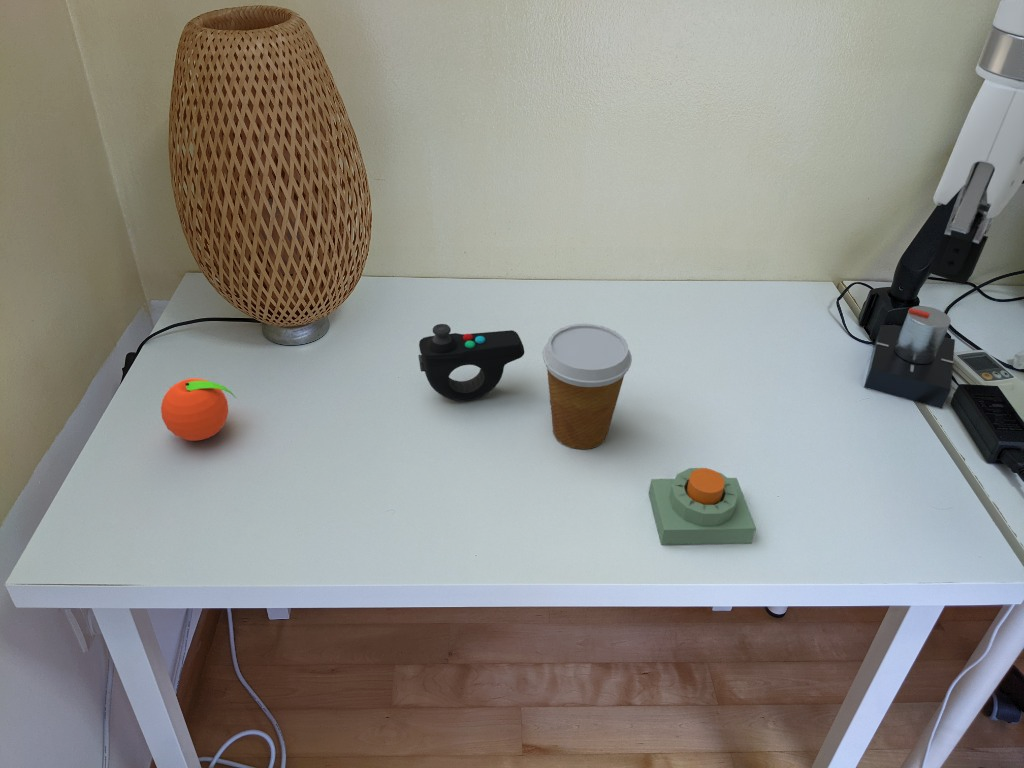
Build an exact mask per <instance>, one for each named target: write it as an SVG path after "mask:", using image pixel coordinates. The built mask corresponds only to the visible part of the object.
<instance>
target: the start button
mask: <svg viewBox="0 0 1024 768" xmlns="http://www.w3.org/2000/svg"><path fill="white" fill-rule="evenodd" d="M700 468H701V469H697V470H695V471H693V472H692V473H691V474H690V477H689V482H688V487H687V493H688V495H689V497H690V498H691V499H692V500H693V501H695V502H698V503H701V504H703V505H713V504H716V503H717V502H719V501H720V500H721V497H722V494H723V490H724V486H725V481H724V479H723V477H722V476H721V475H720V474H719V473H720V472H719V471H716V470H713V469H711V468H707V467H700ZM706 468H707V469H706ZM718 472H719V473H718Z"/></svg>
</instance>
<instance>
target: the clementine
mask: <svg viewBox="0 0 1024 768" xmlns="http://www.w3.org/2000/svg"><path fill="white" fill-rule="evenodd" d="M224 391H225V392H227V393H229V394H231V396H233V397H234V398H236V399H237V397H236V396H235V394H234V393H233V392H232V391H231V390H230V389H228V388H227V387H226V386H224V385H222V384H220V383H217V382H213V381H210V380H207V379H205V378H195V377H193V378H186V379H183V380H180V381H179V382H177V383H174V384H173V385H172V386H171V387H169V389H168V390H167V391H166V393H165V394H164V395H163V399H162V402H161V407H160V414H161V419H162V421H163V423H164V425H165V426H166V428H167V430H168V431H169V432H171V434H173V435H174V436H176V437H178V438H180V439H183V440H186V441H190V442H194V441H195V442H196V441H197V442H198V441H202V440H206V439H209V438H211V437H213V436H215V435H217V433H218V432H220V431H221V429H222V428H223V426H224V425H225V424H226V422H227V419H228V415H229V404H228V403H229V402H228V399H227V396H226V395H225V393H224Z"/></svg>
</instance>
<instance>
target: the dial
mask: <svg viewBox="0 0 1024 768" xmlns="http://www.w3.org/2000/svg"><path fill="white" fill-rule="evenodd" d="M951 323H952V322H951V318H950V316H949V315H948V314H946V313H945V312H944V311H942V310H940V309H938V308H934V307H931V306H926V305H916V306H912V307H909V309H908V311H907V313H906V316H905V318H904V322H903V324H902V325H901V326H902V329H901V331H900V334H899V336H898V339H897V342H896V344H895V347H894V350H895V352H896V354H897V355H898V356H900V357H901V358H903V359H904V360H907V361H909V362H912V363H917V364H928V363H931V362H933V361H934V360H935V358H936V355H937V353H938V351H939V348H940V346H941V344H942V341H943V339H944V337H946V334H947V333H948V330H949V327H950V325H951Z"/></svg>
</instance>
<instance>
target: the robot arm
mask: <svg viewBox="0 0 1024 768" xmlns="http://www.w3.org/2000/svg"><path fill="white" fill-rule="evenodd" d="M974 72H975V74H976V75H977V76H979V77H980V78H983V79H984V81H983V83H982V85H981V86H980V88H979V90H978V92H977V95H976V96H975V98H974V100H973V102H972V105H971V107H970V109H969V112H968V113H967V117H965V121H964V123H963V125H962V127H961V129H960V132H959V135H958V137H957V139H956V142H955V144H954V147H953V149H952V152H951V153H950V156H949V159H948V161H947V163H946V166H945V168H944V170H943V173H942V176H941V178H940V181H939V183H938V185H937V188H936V190H935V192H934V194H933V197H932V200H933V203H934V205H936V206H941V205H945V206H946V205H948V203H950V201H951V200H952V199H953V198H954V197H955V196H956V195H957V194H958V195H957V198H956V200H955V203H954V205H953V209H952V212H951V214H950V217H949V219H948V222H947V225H946V228H945V229H944V230H943V232H942V234H941V237H940V240H939V242H938V245H937V247H936V250H935V252H934V255H933V258H932V260H931V262H930V265H929V268H928V273H930V274H931V275H934V276H937V277H940V278H942V279H946V280H948V281H949V280H950V281H952V282H955V283H958V284H966V283H967V282H968V281H969V279H970V278H971V277H972V275H973V274H974V271H975V269H976V267H977V264H978V262H979V260H980V258H981V255H982V253H983V250H984V248H985V245H986V243H987V241H988V239H989V236H987V235H988V232H989V231H990V229H991V226H992V224H993V222H994V220H995V217H997V216H999V214H1001V212H1002V211H1003V210H1004V209H1005V207H1006V206H1007V205H1008V204H1009V202H1010V201H1011V200H1012V198H1013V197H1014V195H1016V193H1017V191H1018V190H1019V189H1020V187H1021V185H1022V183H1023V181H1024V0H1000V1H999V3H998V7H997V10H996V12H995V15H994V18H993V21H992V24H991V25H990V28H989V32H988V34H987V36H986V39H985V42H984V45H983V48H982V51H981V54H980V56H979V59H978V62H977V63H976V67H975V69H974Z"/></svg>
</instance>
